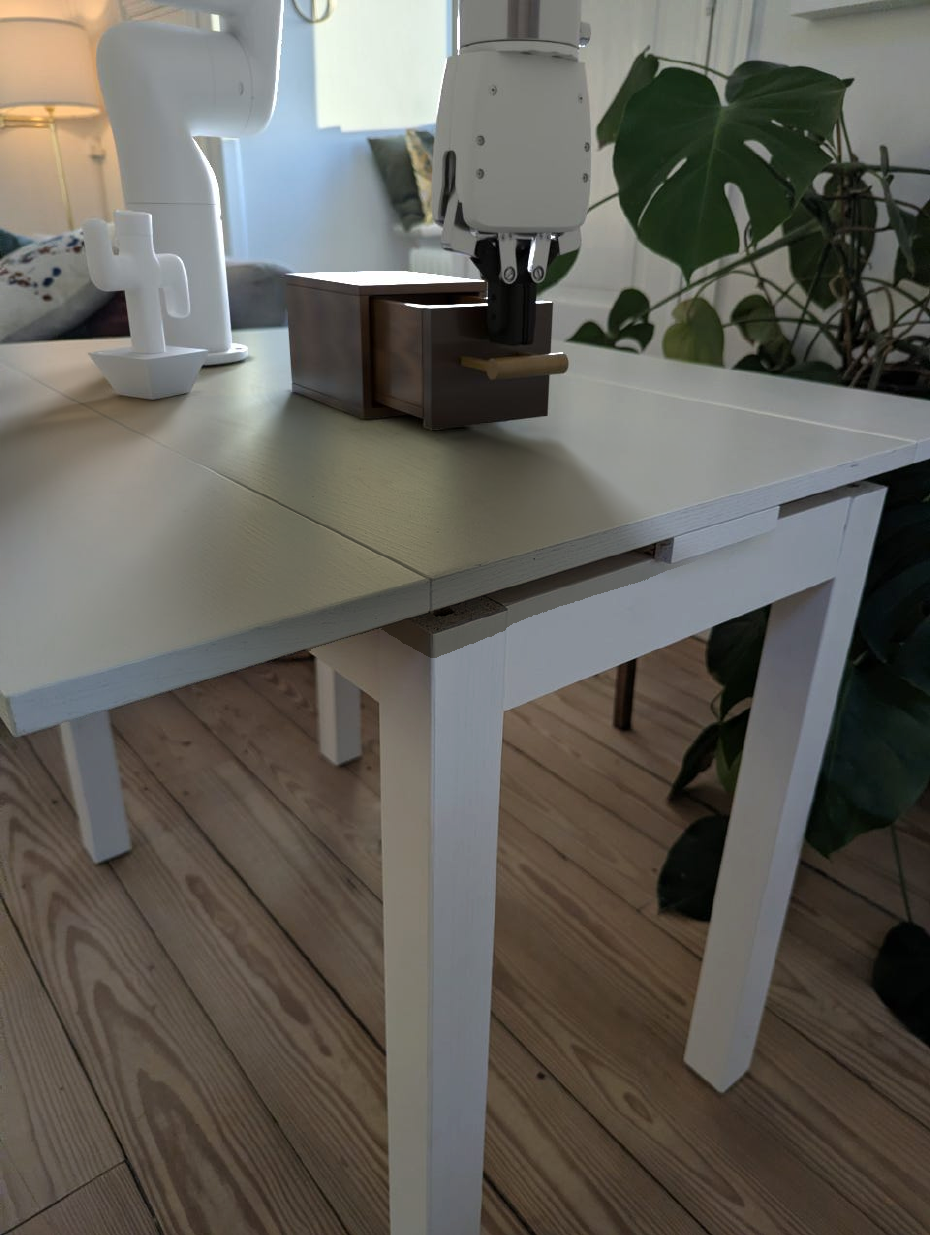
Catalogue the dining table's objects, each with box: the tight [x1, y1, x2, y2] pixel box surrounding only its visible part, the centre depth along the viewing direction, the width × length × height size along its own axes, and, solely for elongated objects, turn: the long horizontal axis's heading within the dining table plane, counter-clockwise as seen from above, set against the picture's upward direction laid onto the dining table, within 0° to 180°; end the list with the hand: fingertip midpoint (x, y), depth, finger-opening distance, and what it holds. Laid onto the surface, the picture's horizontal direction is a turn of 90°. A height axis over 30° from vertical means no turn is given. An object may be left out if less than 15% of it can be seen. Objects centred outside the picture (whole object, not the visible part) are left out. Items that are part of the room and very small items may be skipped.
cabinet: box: [284, 270, 488, 421], centre depth 78 cm, size 15×12×10 cm
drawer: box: [369, 293, 570, 431], centre depth 69 cm, size 18×10×8 cm, turn 33°
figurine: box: [81, 209, 209, 401], centre depth 78 cm, size 7×9×15 cm
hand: (510, 342), depth 63 cm, fingers closed
